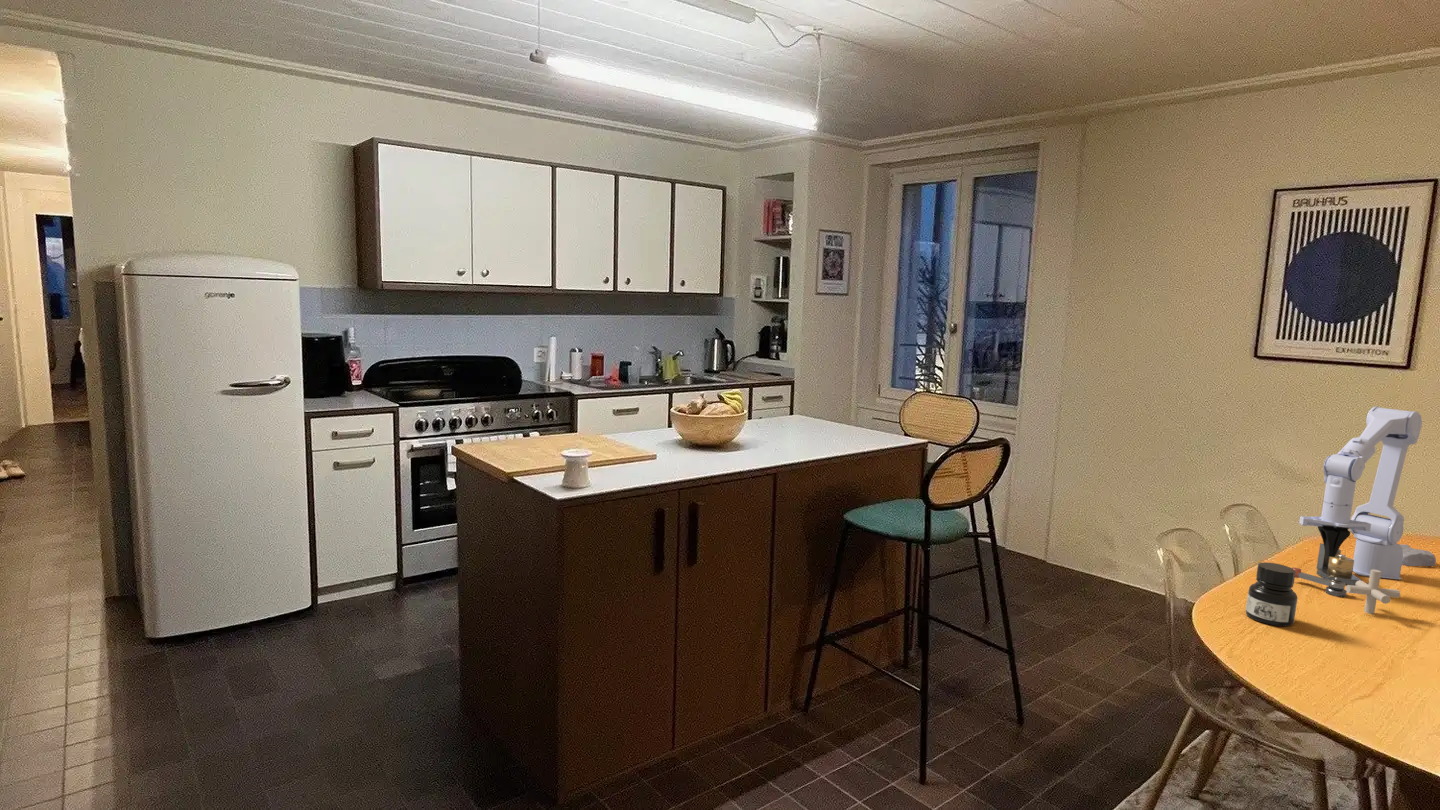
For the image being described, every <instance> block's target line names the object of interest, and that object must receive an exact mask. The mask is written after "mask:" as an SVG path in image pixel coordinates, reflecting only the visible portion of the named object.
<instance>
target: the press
mask: <svg viewBox="0 0 1440 810" xmlns="http://www.w3.org/2000/svg"><path fill="white" fill-rule="evenodd" d="M1341 552H1342V550H1341V549H1340V548H1339V549H1338V551H1337V553H1336V556H1339V554H1341ZM1328 564H1329V556H1327V555H1326V554H1325V549H1324V543H1319V548H1318V557H1317V562H1316V574H1317V575H1318V577H1320V578H1324V579H1327V580H1334V577H1338V576H1334V575H1331V574H1329V573H1328V572H1327V570H1328ZM1338 578H1342V582H1343V583H1345V586H1347V585H1353V586H1356V584H1355V583H1356V582H1357V581H1359V580H1361V581H1363V580H1362V579H1361V578H1359V577H1358V576H1356V575H1354V574H1353V573H1352V577H1351V578H1344V577H1338Z"/></svg>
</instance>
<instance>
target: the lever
mask: <svg viewBox="0 0 1440 810" xmlns="http://www.w3.org/2000/svg"><path fill="white" fill-rule="evenodd" d="M1291 568H1292V569H1294V570H1295V571H1296V572H1295V578H1296V579H1304V580H1306V581H1310V582H1313V583H1316V584H1320V585H1324V586H1326V587H1328V586H1329V588H1331V589H1335V590H1340V591H1343V590H1346V585H1345V583H1343V582H1336V581H1334V580H1327V579H1324V578H1322V577H1321V576H1316V575H1313V574H1309V573H1305V572H1302V569H1301V568H1299V567H1291Z"/></svg>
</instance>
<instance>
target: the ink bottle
mask: <svg viewBox="0 0 1440 810" xmlns="http://www.w3.org/2000/svg"><path fill="white" fill-rule="evenodd" d="M1292 568H1293V567H1290V566H1287V565H1284V564H1280V563H1274V562H1266V561H1265V562H1259V563H1257V571H1256V575H1255V576H1256V578H1255V580H1256V582H1255V583H1252V584H1250V585H1249V589H1248V593H1247V596H1246V597H1247V598H1246V605H1245V614H1246V616H1248V618H1250V619H1253V620H1254V621H1257V622H1259V623H1262V624H1267V625H1271V626H1276V627H1290V626H1292V625H1293V624H1294V623H1295V618H1296V610H1297V606H1298V605H1297V604H1298V595H1297V593H1296V592H1295V591H1294V590H1293V589H1292V588H1293V587H1294V585H1295V572H1296V571H1295V570H1294V569H1292Z"/></svg>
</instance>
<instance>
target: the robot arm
mask: <svg viewBox="0 0 1440 810" xmlns="http://www.w3.org/2000/svg"><path fill="white" fill-rule="evenodd" d="M1365 424H1366V427H1365V429H1364V430H1363V431H1362V432H1361V434H1360V435H1359V437H1353V438H1351V439H1349V440H1348V442H1347V443H1346V444H1345V445H1344V446H1343V447H1342V448H1341V449H1340V450H1339V451H1338V452H1337V453H1333V454H1332V455H1328V456H1327V457H1326V459H1325V460H1324V463H1323V467H1322V470H1323V471H1322V472H1323V483H1324V484H1325V488H1324V494H1323V495H1324V496H1323V503H1322V508H1321V516H1303V515H1300V517H1299V522H1298V524H1299V525H1301V526H1302V527H1306V526H1308V527H1309V526H1311V527H1317V529H1318V532H1319V533H1320V536H1321V539H1322V542H1323V543H1322V544H1324V549H1325V554H1326V555H1327V556H1329V557H1335V555H1336V553H1337V551H1338V549H1339V550H1340V547H1341V545H1342V544H1343V543H1344V542H1345V541H1346V540H1347V539H1348V538H1349V537H1350V535H1351V533H1352V535H1353V538H1355V539H1356V540H1355V547H1354V553H1353V558H1352V559H1353V560H1354V566H1353V572H1354V573H1355V574H1356V575H1358V576H1363V577H1370V572H1371V569H1374V570H1379V571H1381V575H1380V579H1381V578H1382V579H1391V580H1398V581H1399V580H1402V577H1401V571H1402V566H1403V565H1402V560H1403V550H1402V547H1401V546H1400V545H1401V544H1400V545H1399V543H1398V542H1400V540H1401V538H1402V537H1403V533H1404V521H1405V519H1404V516H1403V514H1402V513H1401V512H1400V511H1399V510H1397V508H1395V506H1394V503H1395V499H1396V496H1397V491H1398V489H1399V488H1398V487H1399V484H1400V480H1401V475H1402V472H1403V468H1404V465H1405V464H1404V463H1405V459H1406V456H1407V453H1408V449H1409V447H1410V446H1411V445H1416V444H1417V443H1418V440H1419V438H1420V434H1421V430H1422V426H1423V420H1422V415H1421V414H1420V412H1419V411H1415V410H1414V411H1412V410H1402V409H1395V408H1385V407H1379V406H1373V407H1372V408H1371V409H1369V411H1368V413H1367V416H1366V422H1365ZM1380 442H1381V443H1382V450H1381V454H1380V457H1379V462H1378V465H1377V470H1376V475H1375V476H1374V477H1375V478H1374V481H1373V485H1372V489H1371V493H1370V497H1369V501H1368V502H1367V503H1364V504H1363V503H1362V504H1360V505H1358V506H1356V508H1355V510H1354V513H1353V515H1352V510H1353V503H1354V497H1355V496H1354V495H1355V491H1356V485H1357V484H1356V483H1357V481H1358V480H1359V479H1360V478H1361V477H1362V476H1363V471H1364V470H1365V468H1366V463H1367V462H1368V461H1369V460H1370V459H1371V458H1372V457H1373V455H1375V453H1376V445H1378V443H1380ZM1373 514H1374V515H1373ZM1384 516H1385V517H1384ZM1353 572H1352V573H1353Z"/></svg>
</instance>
